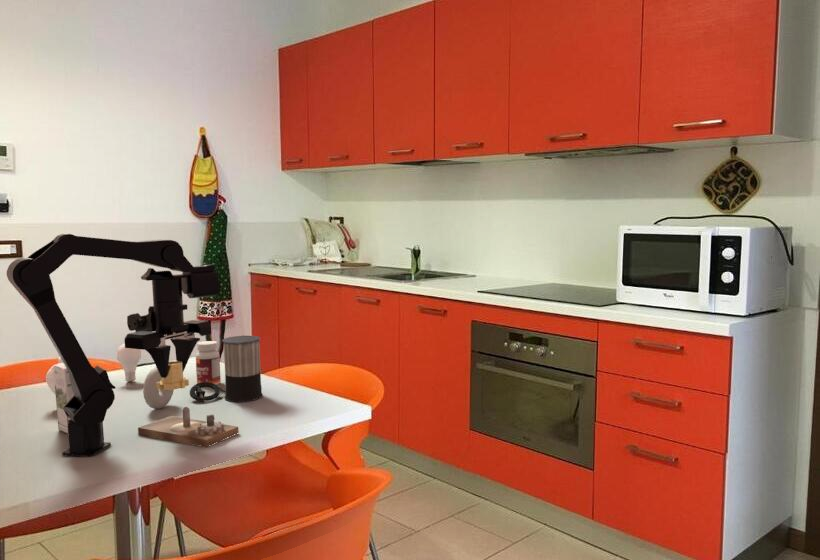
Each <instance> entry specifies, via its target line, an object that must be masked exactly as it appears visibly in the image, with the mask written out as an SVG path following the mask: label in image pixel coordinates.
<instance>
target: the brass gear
mask: <svg viewBox="0 0 820 560" xmlns="http://www.w3.org/2000/svg"><path fill="white" fill-rule="evenodd" d="M189 383H190V380H189V378H187V377H184V371H183V368H182V362H181V361H176V360H169V364H168V372H167V376H166V378H162V377H161V380H160V382H156V385H157V389H159V390H173V391H175V390H178V389H185V388H186V387H188V386H190V384H189Z"/></svg>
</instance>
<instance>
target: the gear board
mask: <svg viewBox="0 0 820 560" xmlns="http://www.w3.org/2000/svg"><path fill="white" fill-rule="evenodd" d="M190 411H191V410H190V408H189V407H188V406H185V407H182V417H181V416H175V415H170V416H167V417H164V418H162V419H158V420H156V421H153V422H150V423H146V424H144V425H141V426H139V427H137V434H138V436H144V437H149V438H154V439H159V440H164V441H165V440H167V441H171V442H175V443H176V442H177V443H182V444H186V443H187V445H192V444H194V445H193V446H197V445H201V446H200V447H203V446H205V447H204V448H209V447H210V446H209V445H211V446H213V445H212V444H214V443H216V442H218V443H220V442H219V441H221V440H223V439H225V438H227V437H230V436H232V435H234V434H237V433H239V426H236V425H230V424H224V423H223V422H221V421H216V422H215V417H214V416H215V415H214V414H207V415H206V420H198V419H193V418H191V413H190ZM239 434H240V433H239ZM237 435H238V434H237ZM232 437H233V436H232ZM230 438H231V437H230ZM225 440H226V439H225ZM223 441H224V440H223ZM221 442H222V441H221ZM216 444H217V443H216ZM214 445H215V444H214ZM208 446H209V447H208Z"/></svg>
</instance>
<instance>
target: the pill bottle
mask: <svg viewBox="0 0 820 560" xmlns="http://www.w3.org/2000/svg"><path fill="white" fill-rule="evenodd" d="M196 345H197V349H196V350H197V351H198V352H196V354H195V369H196V370H195V371H196V372H195V373H196V384H197V383H200V382H211V383H213V384H215V385H217V386H219V384H221V378H222V377H221V359H220V358H221V357H220V355H221V354H220V352H219V351H218V350H217V349H218V341H215V340H206V341H205V340H204V341H198V342H197V343H196Z"/></svg>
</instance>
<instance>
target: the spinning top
mask: <svg viewBox="0 0 820 560" xmlns="http://www.w3.org/2000/svg"><path fill="white" fill-rule="evenodd" d="M57 362H58V364H60V363H63V361H62V359H61V357H60V356H59V357H58V358H57ZM45 382H46V384H47V386H48V388H49V389H50V391H51V392H52V393H53V394H54V395H55V396H56V394H55V383H54V370H53V365H52V366H51V367H50V368H49V370H48V371H47V373H46V376H45Z"/></svg>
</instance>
